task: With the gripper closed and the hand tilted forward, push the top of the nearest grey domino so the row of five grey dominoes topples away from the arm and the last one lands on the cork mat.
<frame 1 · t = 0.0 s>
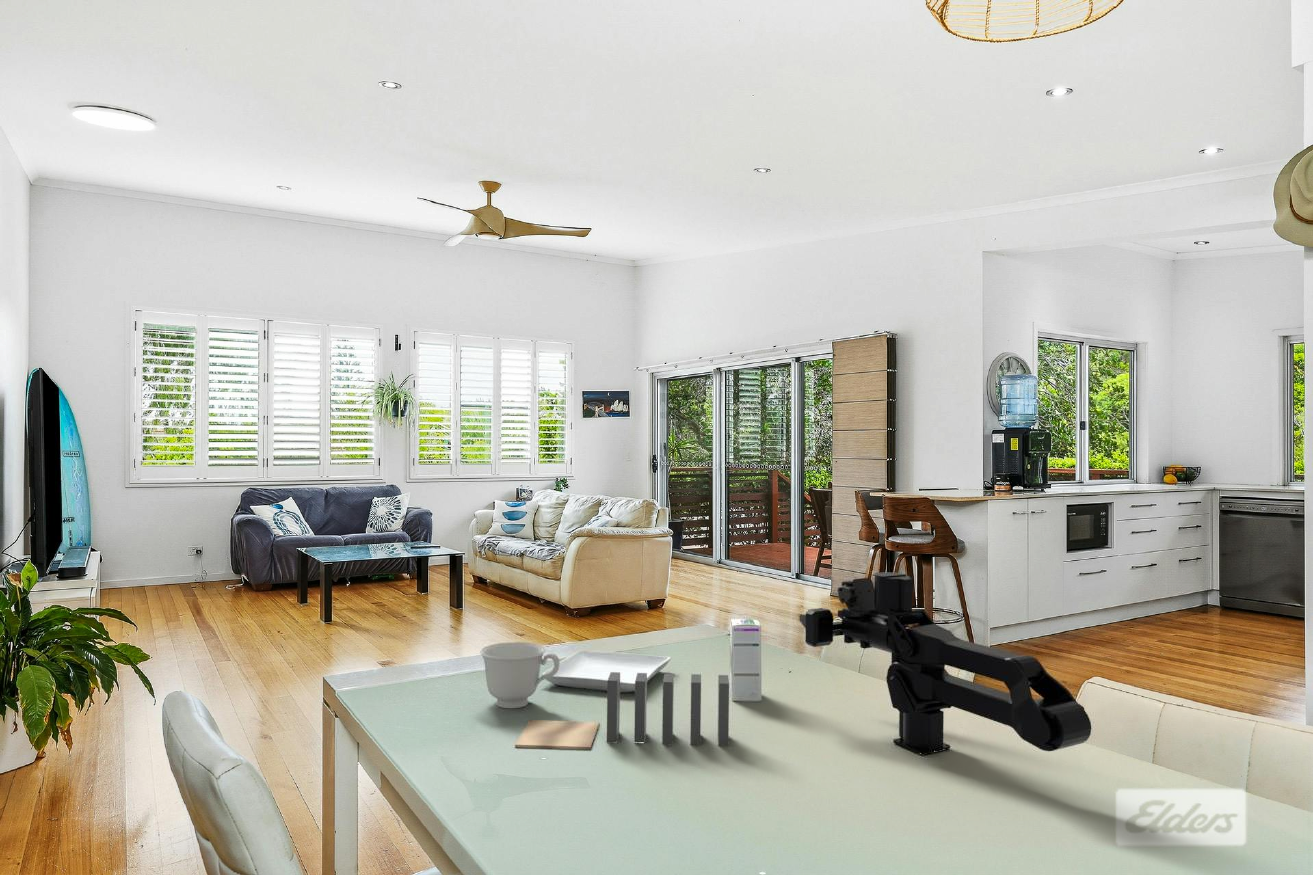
hand: (819, 615, 159), 17 cm above the table, tool horizontal, fingers open, 9 cm apart
domino 2: (695, 739, 138), on the table
domino 4: (640, 738, 139), on the table
salad plate: (608, 681, 173), on the table
domino 3: (667, 738, 138), on the table
domino 1: (722, 740, 138), on the table
teacup: (519, 705, 156), on the table
cork mat: (558, 735, 139), on the table
syrup box: (745, 698, 162), on the table
domino 5: (613, 737, 139), on the table
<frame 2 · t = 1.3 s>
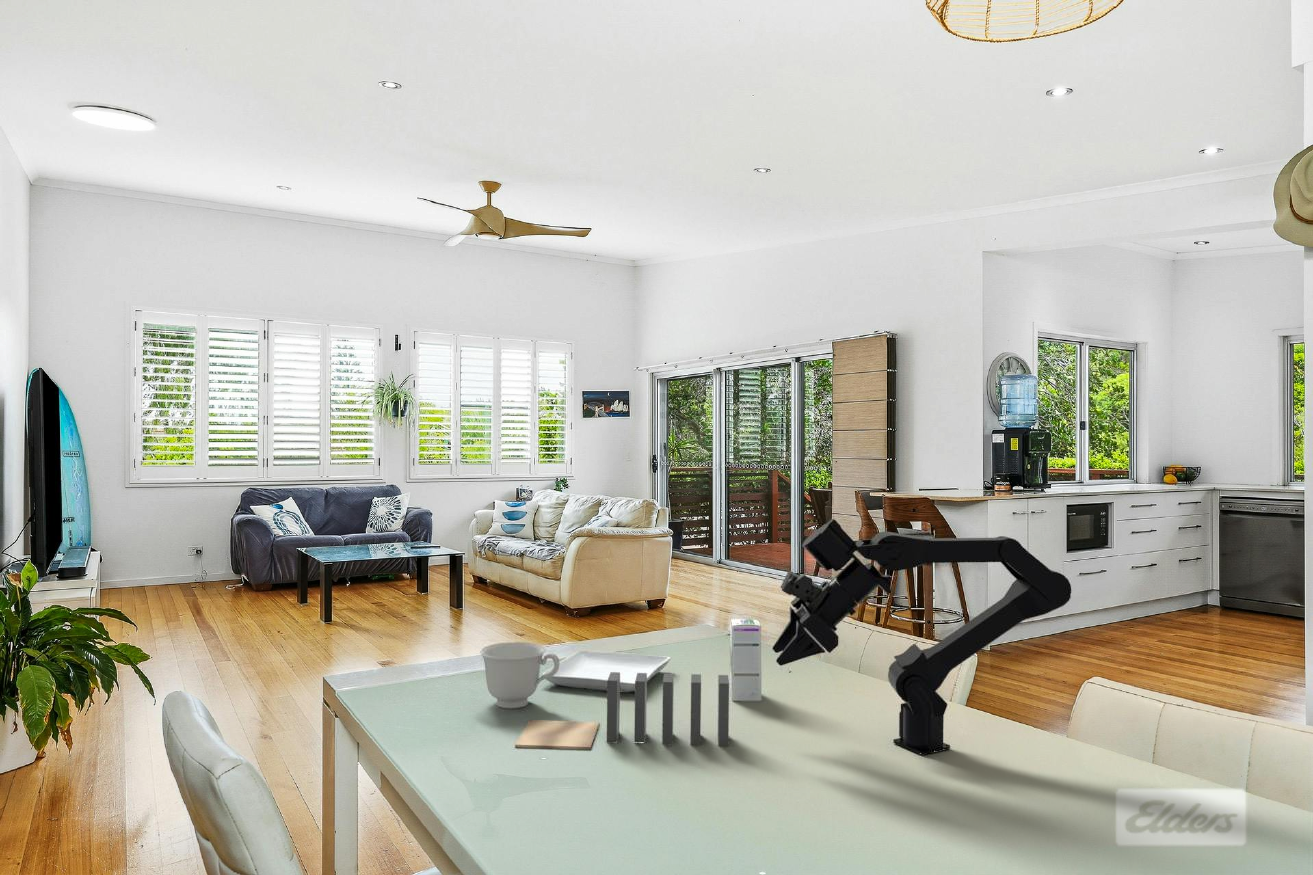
hand: (776, 656, 138), 14 cm above the table, tool tilted 45°, fingers open, 8 cm apart
nothing on the table moved.
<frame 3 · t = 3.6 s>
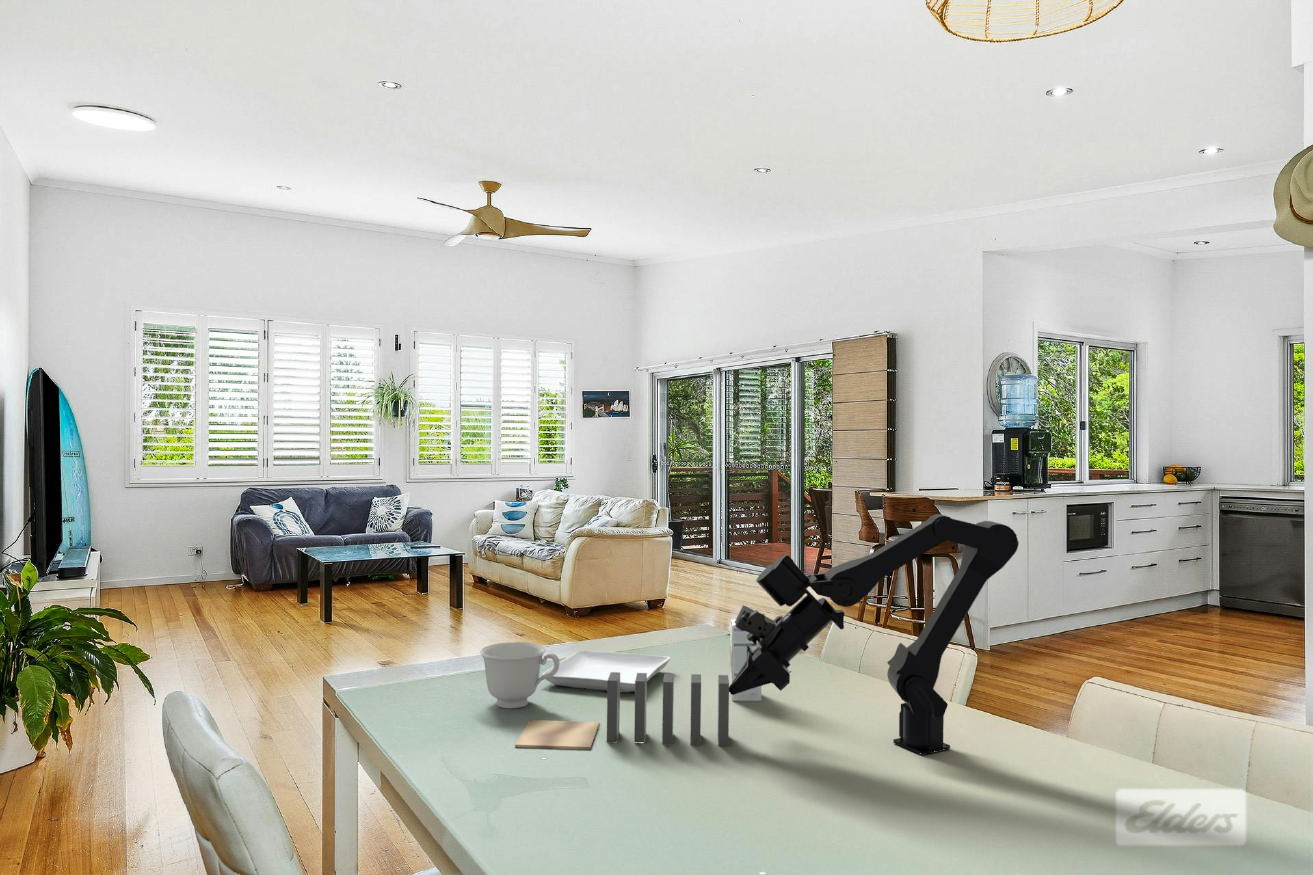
hand: (730, 692, 138), 8 cm above the table, tool tilted 45°, fingers closed, pressing on domino 1
domino 1: (722, 740, 138), on the table, touching gripper
everything else where it was.
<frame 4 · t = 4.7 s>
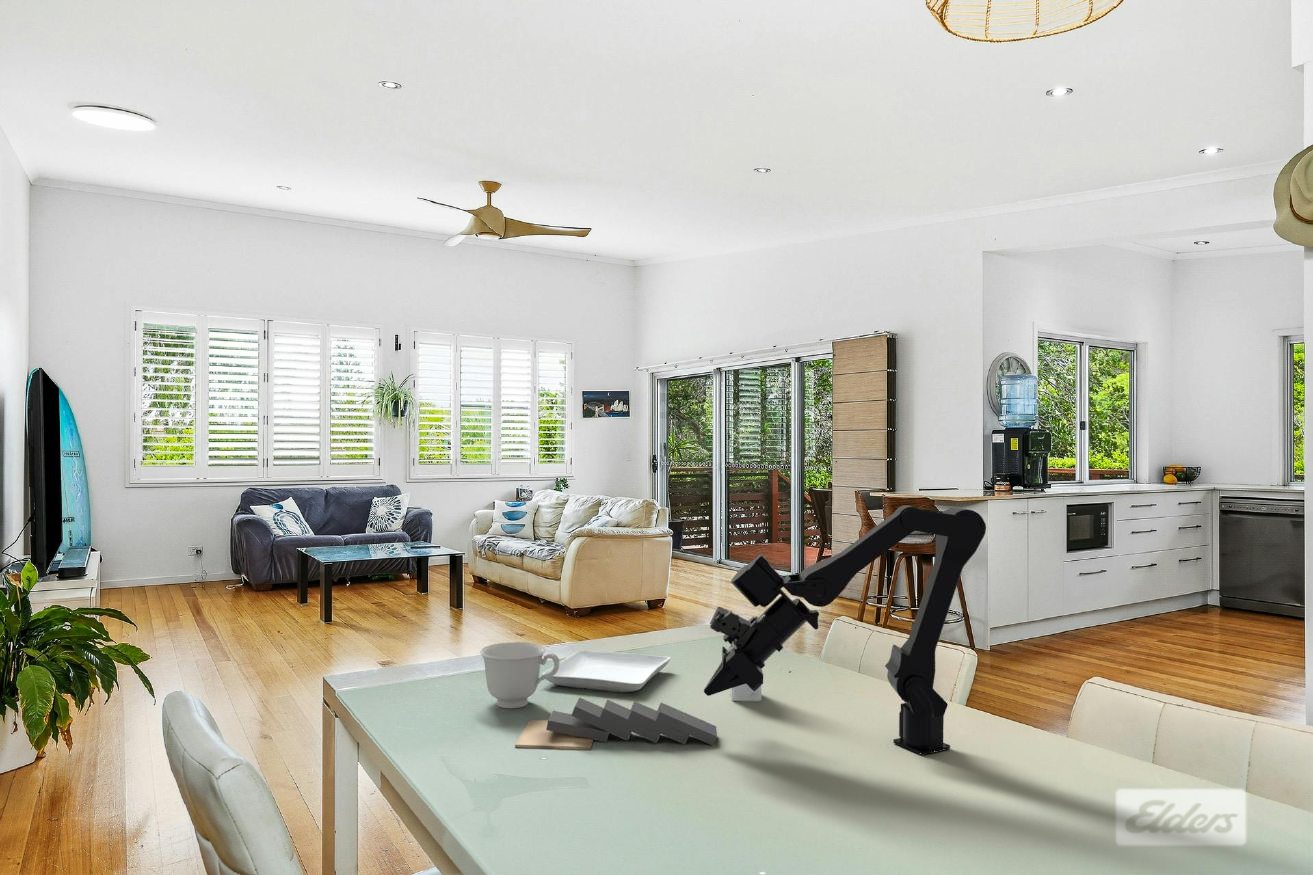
hand: (705, 693, 138), 8 cm above the table, tool tilted 45°, fingers closed
domino 2: (687, 734, 138), point 1 cm above the table, tilted 68°, touching domino 1, domino 3
domino 4: (630, 730, 139), point 1 cm above the table, tilted 68°, touching domino 3, domino 5
domino 3: (659, 733, 138), point 1 cm above the table, tilted 68°, touching domino 2, domino 4
domino 1: (714, 735, 138), point 1 cm above the table, tilted 68°, touching domino 2
domino 5: (609, 731, 139), point 1 cm above the table, tilted 80°, touching cork mat, domino 4
everything else where it was.
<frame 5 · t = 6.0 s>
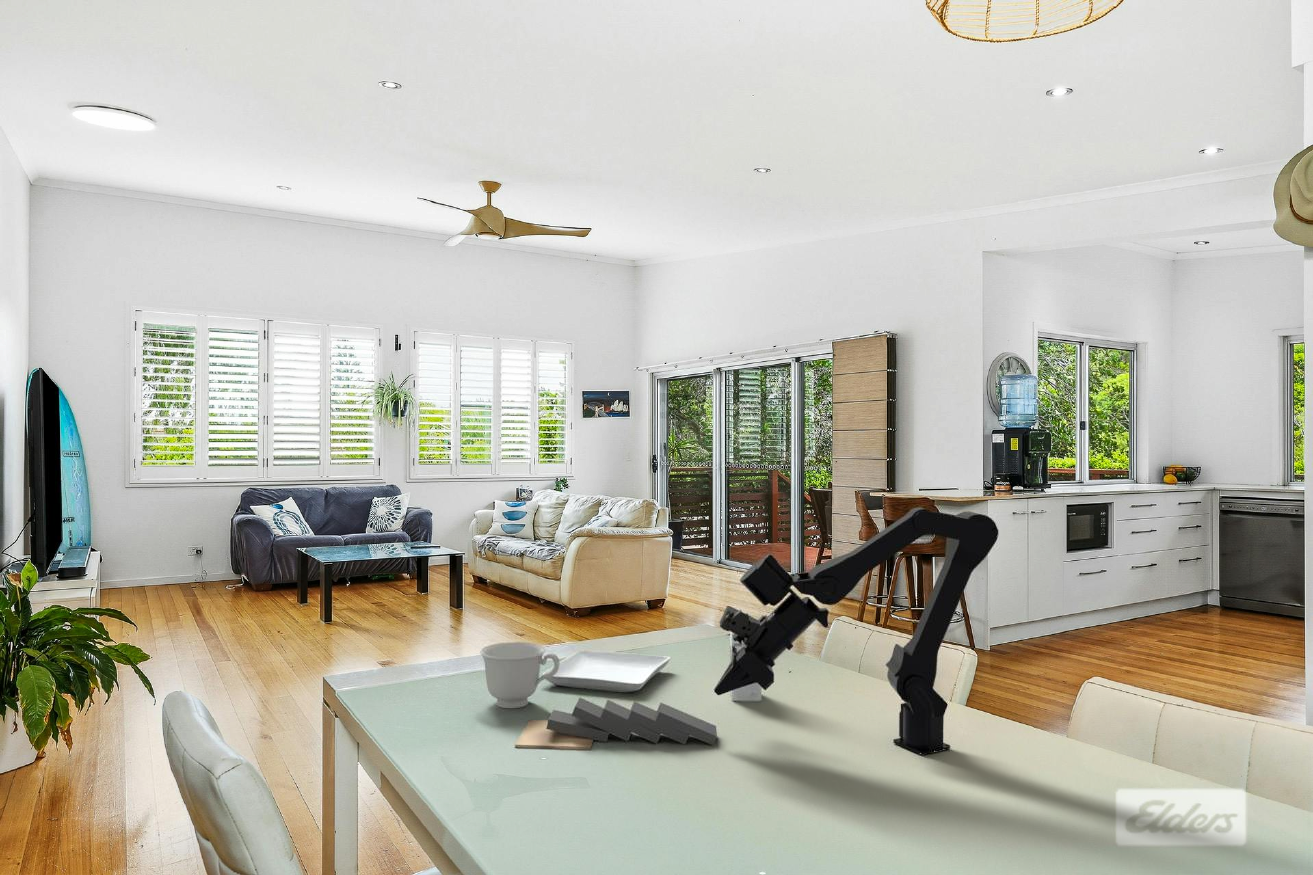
hand: (715, 692, 138), 8 cm above the table, tool tilted 45°, fingers closed
domino 3: (659, 733, 138), point 1 cm above the table, tilted 67°, touching domino 2, domino 4
domino 5: (609, 732, 139), point 1 cm above the table, tilted 79°, touching cork mat, domino 4
everything else where it was.
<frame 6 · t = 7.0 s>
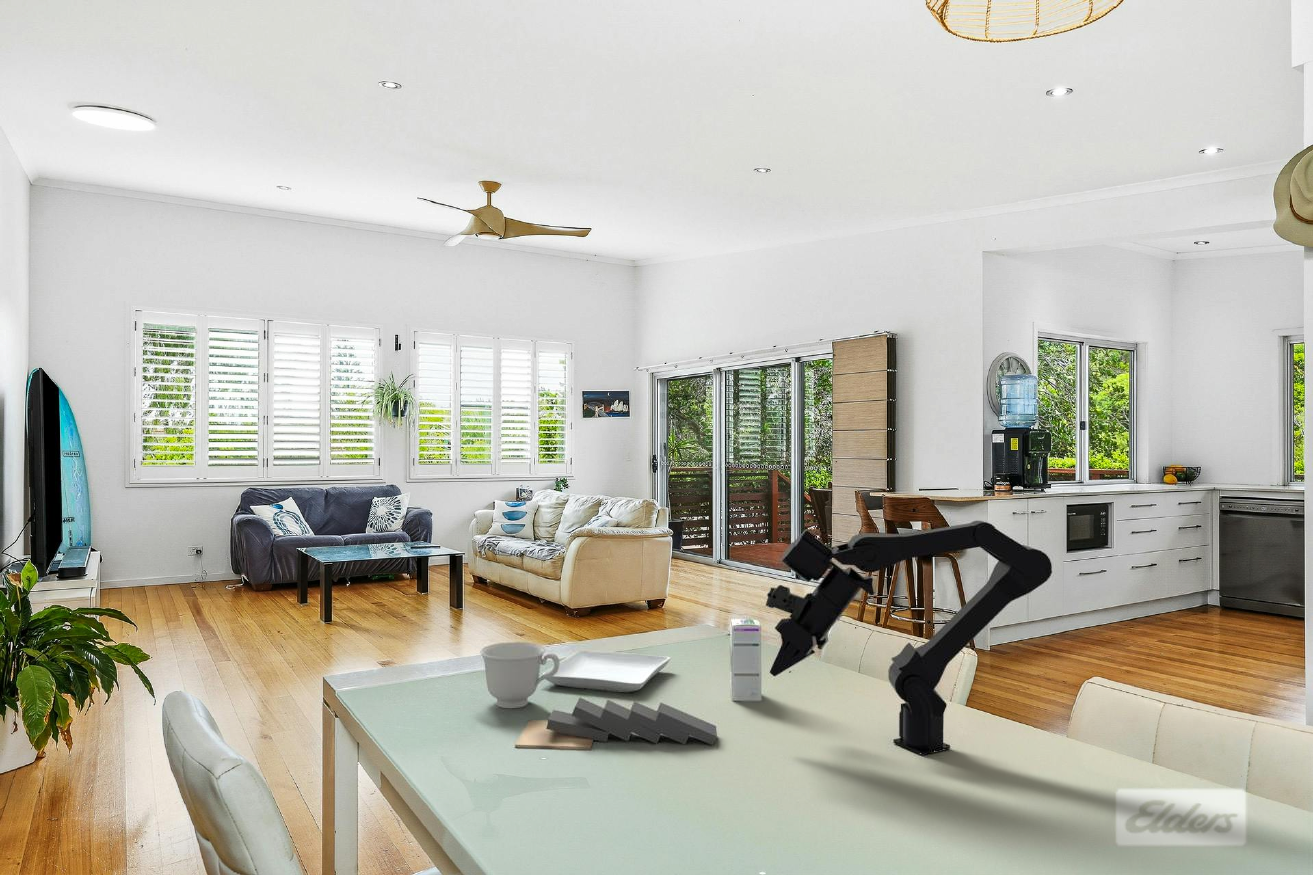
hand: (772, 674, 139), 11 cm above the table, tool tilted 35°, fingers closed
nothing on the table moved.
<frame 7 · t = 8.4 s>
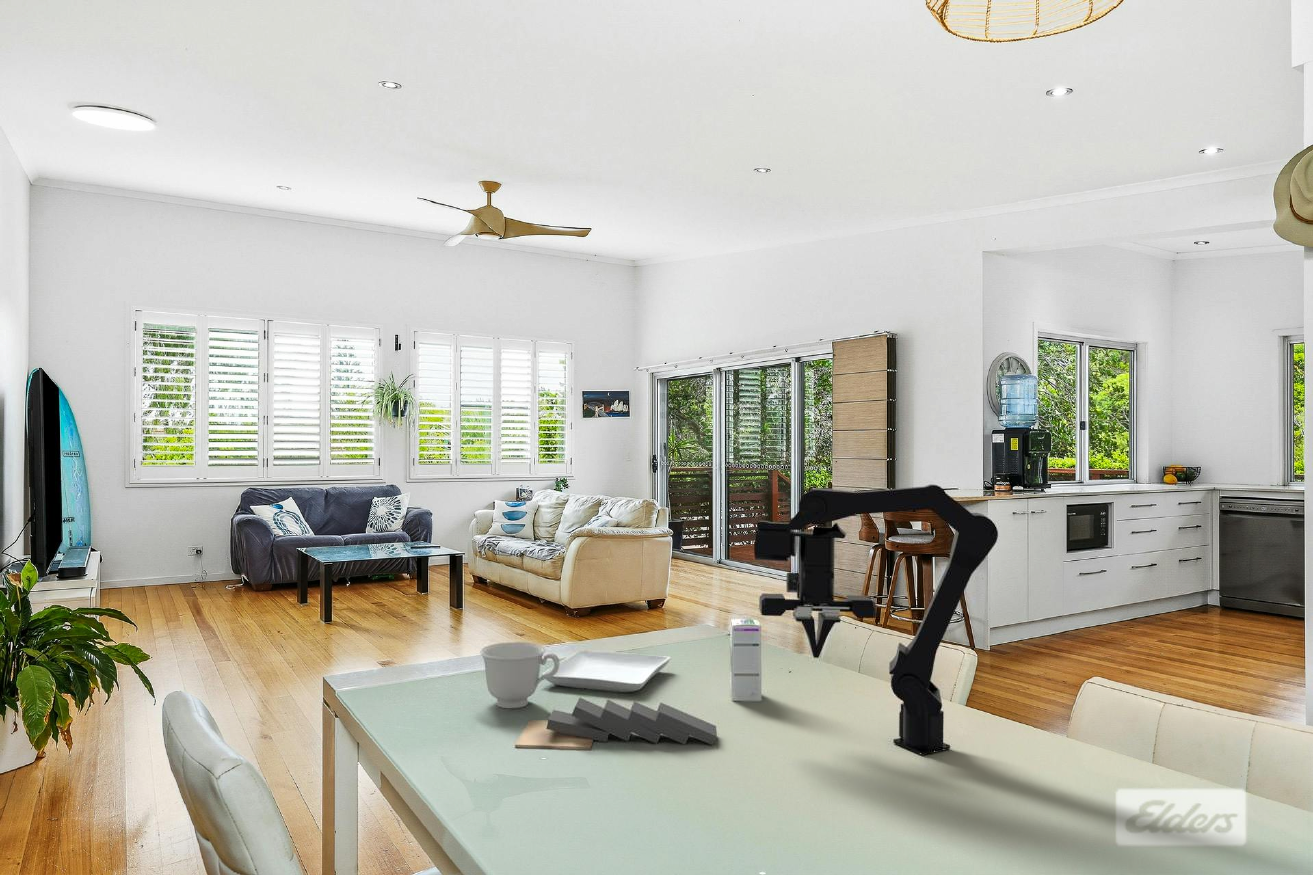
hand: (815, 657, 141), 13 cm above the table, tool pointing down, fingers closed
nothing on the table moved.
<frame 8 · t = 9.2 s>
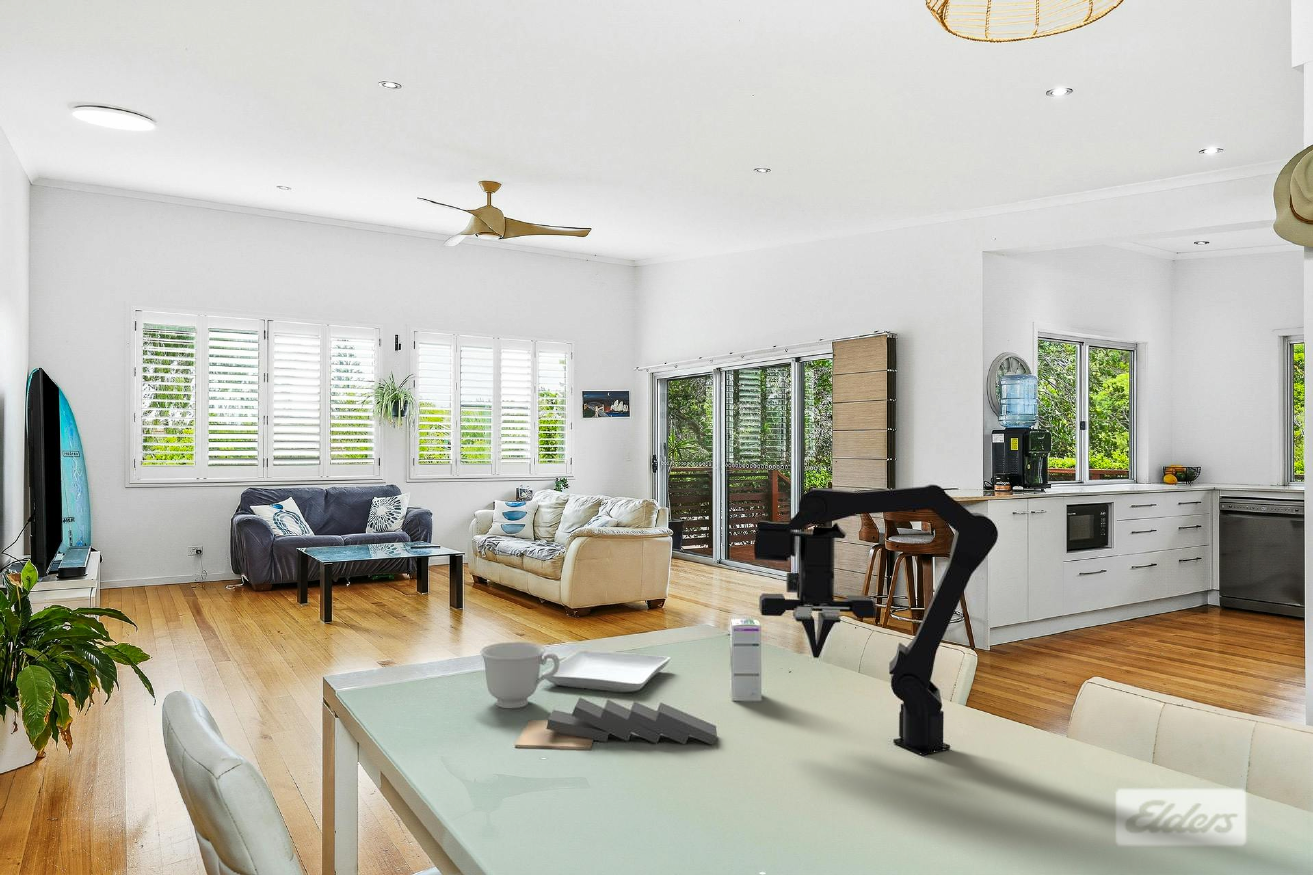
hand: (815, 657, 141), 13 cm above the table, tool pointing down, fingers closed
nothing on the table moved.
at the end: domino 5 tilted 79°; domino 1 tilted 68° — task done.
